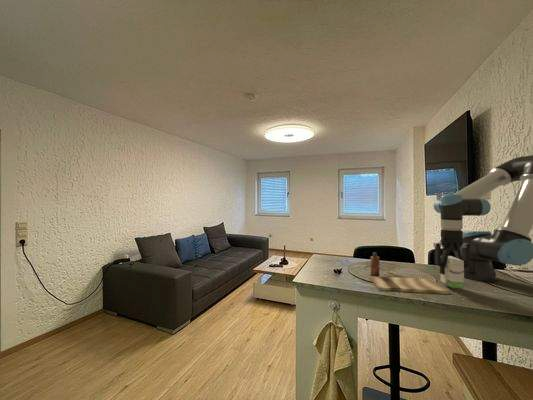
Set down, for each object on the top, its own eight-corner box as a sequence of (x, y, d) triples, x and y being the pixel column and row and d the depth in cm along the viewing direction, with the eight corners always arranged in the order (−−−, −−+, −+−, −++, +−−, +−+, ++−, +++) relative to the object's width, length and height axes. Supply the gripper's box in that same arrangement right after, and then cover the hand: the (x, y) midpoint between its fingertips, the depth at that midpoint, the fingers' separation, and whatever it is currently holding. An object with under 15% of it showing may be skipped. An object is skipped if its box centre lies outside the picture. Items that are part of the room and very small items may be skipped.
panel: (431, 281, 108) (431, 278, 108) (450, 293, 94) (450, 290, 94) (369, 278, 112) (369, 275, 112) (378, 290, 98) (378, 287, 98)
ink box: (464, 288, 95) (464, 260, 95) (451, 287, 96) (451, 260, 96) (451, 281, 104) (451, 255, 104) (439, 280, 104) (439, 255, 104)
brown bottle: (377, 275, 117) (377, 252, 117) (380, 277, 113) (380, 253, 114) (369, 274, 118) (369, 251, 118) (372, 277, 114) (371, 253, 114)
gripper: (468, 228, 102) (468, 280, 102) (424, 227, 105) (424, 278, 105) (481, 230, 95) (481, 286, 95) (433, 230, 98) (434, 283, 98)
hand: (451, 281), depth 100 cm, fingers closed on ink box, 5 cm apart
